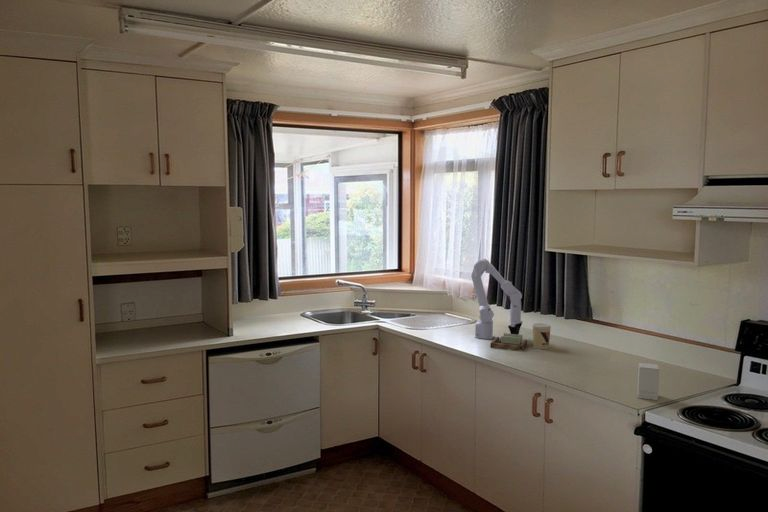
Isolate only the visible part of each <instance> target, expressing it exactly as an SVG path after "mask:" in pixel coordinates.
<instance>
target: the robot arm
mask: <svg viewBox="0 0 768 512" xmlns="http://www.w3.org/2000/svg"><path fill="white" fill-rule="evenodd" d="M484 273H485V274H489V275H491V276H492V277H493V278H494V279H495V280H496V281H497V282H498V283H499V284H500V288H501V289H502V291H504V293H505V294H506V295H507V297H509V301H510V308H509V309H510V310H509V312H510V313H509V314H510V315H509V323H510V325H508V326H507V328H508V329H509V332H510V333H509V334H518V335H520V330H521V327H522V325H523V323H524V321H523V320H521V319H522V317H521V316H522V315H521V314H522V301H521V300H522V298H523V294H522V291H520V290H519V289H518V288H516V287H515V286H514V285H513V282H512V281H509V280H507V279H506V280H505V278H504V277H503V276H502V275H501V273H500V271H498V270H497V269H496V267H495V266H494V265H493V264H492V263H491V262H490V261H489V260H488V259H487V258H482V259H480V260H478V261H476V263H475V264H474V265H473V269H472V272H471V281H472V284H473V286H474V290H475V291H474V292H475V294H476V299H477V302H478V306H479V309H478V310H479V321H478V320H477V321H476V323H475V326H474V327H475V328H474V329H475V333H474V335H475V337H474V338H476V339H484V340H485V339H486V340H492V339H493V338H496V337H495V335H494V333H493V331H494V320H493V318H494V315H495V314H494V311H493V310H492V308H491V306H490V304H489V301H488V298H487V294H486V291H485V287H484V283H483V279H482V276H483V274H484Z"/></svg>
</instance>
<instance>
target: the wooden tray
mask: <svg viewBox="0 0 768 512" xmlns="http://www.w3.org/2000/svg"><path fill="white" fill-rule="evenodd" d="M527 345H528V339H524V340H523V341H522V342H521V343H520V345H516V344H509V343H505V344H503V343H501V342H500V337H499V336H496V337H494V339H493V340H492V341H491V342H490V346H489V347H490V348H491V349H499V348H500V350H508V349H511V351H518V350H522V351H523V350H524V349H525V348H526V347H525V346H527ZM524 347H525V348H524ZM523 348H524V349H523Z"/></svg>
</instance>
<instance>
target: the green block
mask: <svg viewBox="0 0 768 512" xmlns="http://www.w3.org/2000/svg"><path fill="white" fill-rule="evenodd" d="M523 337H524V336H523V334H519V335H518V334H511V333H508V332H507V333H506V332H504V333H503V335H500V343H501V344H511V345H521V344H522V343H523Z"/></svg>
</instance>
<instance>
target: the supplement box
mask: <svg viewBox="0 0 768 512" xmlns="http://www.w3.org/2000/svg"><path fill="white" fill-rule="evenodd" d="M637 373H638V374H637V391H636V392H637V398H638V399H643V398H644V399H646V400H651V399H652V401H658V399H659V384H660V383H659V382H660V381H659V379H660V367H659V364H658V363H657V364H655V363H646V362H645V363H644V362H643V363H641V362H639V363H638V371H637ZM644 399H643V400H644Z"/></svg>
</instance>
